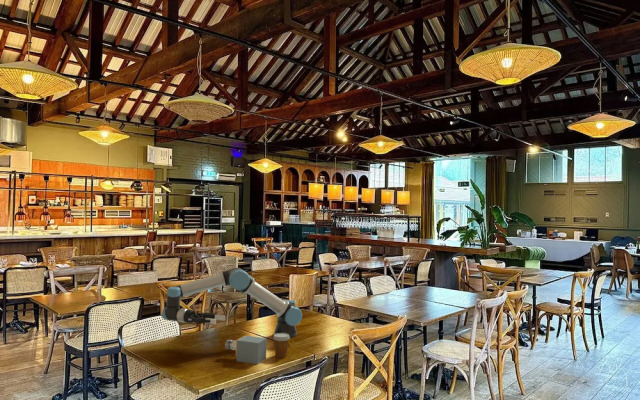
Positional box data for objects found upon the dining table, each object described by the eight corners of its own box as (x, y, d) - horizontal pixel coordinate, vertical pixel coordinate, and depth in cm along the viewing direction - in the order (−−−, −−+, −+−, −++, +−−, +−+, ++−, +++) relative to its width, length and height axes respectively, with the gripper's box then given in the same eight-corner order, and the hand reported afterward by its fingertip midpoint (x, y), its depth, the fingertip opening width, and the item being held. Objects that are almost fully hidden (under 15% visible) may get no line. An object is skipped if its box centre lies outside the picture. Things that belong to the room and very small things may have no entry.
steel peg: (224, 350, 247) (225, 340, 247) (229, 347, 252) (229, 338, 252) (243, 352, 243) (244, 343, 243) (248, 350, 248) (248, 340, 248)
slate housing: (235, 360, 243) (236, 340, 243) (244, 355, 252) (245, 335, 253) (257, 364, 238) (258, 343, 239) (266, 358, 248) (266, 338, 249)
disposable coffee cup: (282, 360, 247) (283, 338, 247) (269, 356, 252) (269, 335, 252) (292, 355, 255) (293, 334, 255) (279, 352, 260) (279, 331, 260)
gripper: (197, 318, 269) (229, 322, 262) (174, 326, 248) (209, 331, 241) (197, 305, 269) (230, 309, 262) (175, 313, 249) (210, 317, 241)
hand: (220, 319), depth 252 cm, fingers open, 9 cm apart
